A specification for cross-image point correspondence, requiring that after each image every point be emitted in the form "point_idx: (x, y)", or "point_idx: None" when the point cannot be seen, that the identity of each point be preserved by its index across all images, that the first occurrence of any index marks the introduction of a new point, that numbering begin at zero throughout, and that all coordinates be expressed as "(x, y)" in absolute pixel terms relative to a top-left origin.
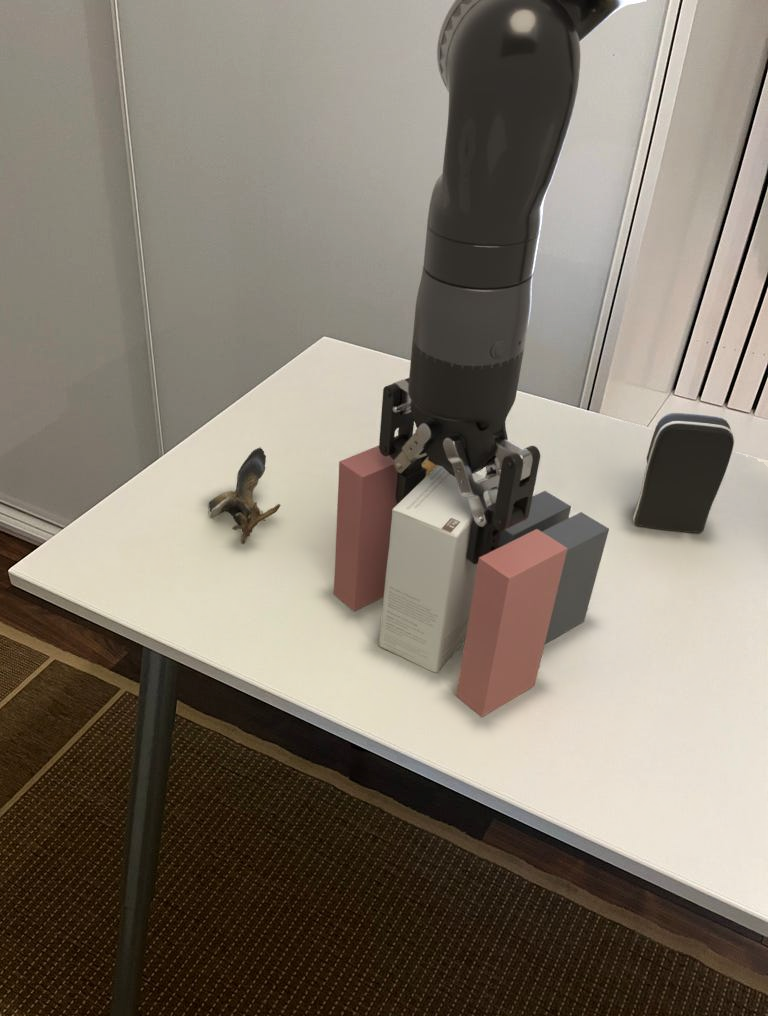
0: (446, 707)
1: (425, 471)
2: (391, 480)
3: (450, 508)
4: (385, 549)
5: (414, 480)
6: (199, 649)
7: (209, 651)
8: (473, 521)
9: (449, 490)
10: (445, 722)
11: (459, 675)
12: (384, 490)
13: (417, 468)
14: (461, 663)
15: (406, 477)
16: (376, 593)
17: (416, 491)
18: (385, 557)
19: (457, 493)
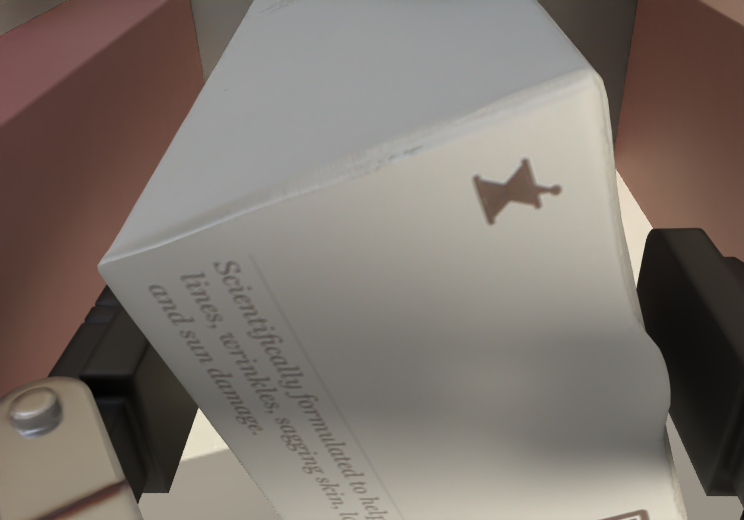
0: (619, 201)
1: (140, 372)
2: (15, 329)
3: (534, 489)
4: (150, 151)
5: (167, 412)
6: (183, 452)
7: (196, 444)
8: (712, 490)
9: (412, 424)
10: (648, 231)
11: (632, 193)
12: (46, 334)
13: (127, 440)
14: (645, 215)
15: (167, 490)
16: None
17: (303, 513)
18: (159, 133)
19: (460, 405)
